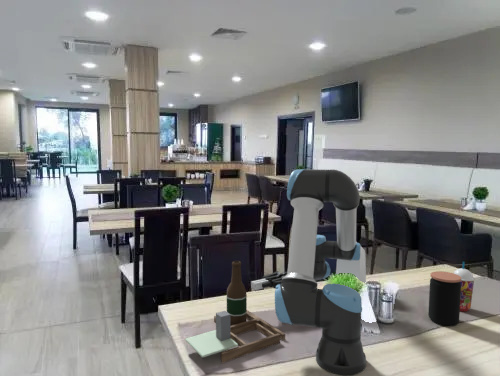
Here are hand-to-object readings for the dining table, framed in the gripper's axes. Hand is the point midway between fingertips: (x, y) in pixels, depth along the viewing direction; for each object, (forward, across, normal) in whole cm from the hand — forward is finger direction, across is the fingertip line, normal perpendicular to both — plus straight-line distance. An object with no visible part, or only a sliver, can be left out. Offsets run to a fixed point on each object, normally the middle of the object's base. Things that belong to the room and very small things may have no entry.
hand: (253, 285), depth 148 cm
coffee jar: (-61, -42, -13) cm, 75 cm away
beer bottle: (+8, 0, -13) cm, 15 cm away
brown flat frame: (+13, -7, -13) cm, 20 cm away
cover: (+26, -14, -10) cm, 31 cm away
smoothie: (-78, -40, -13) cm, 88 cm away
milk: (-55, 0, -14) cm, 57 cm away
